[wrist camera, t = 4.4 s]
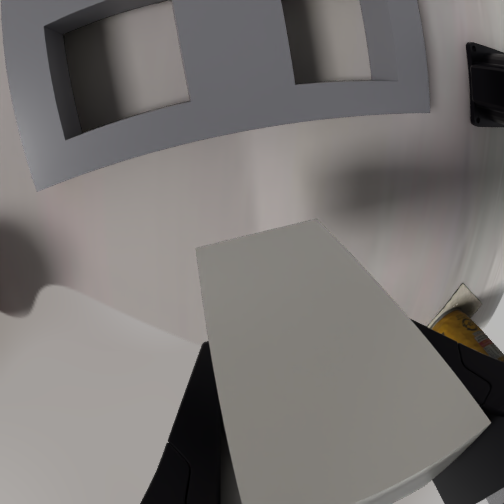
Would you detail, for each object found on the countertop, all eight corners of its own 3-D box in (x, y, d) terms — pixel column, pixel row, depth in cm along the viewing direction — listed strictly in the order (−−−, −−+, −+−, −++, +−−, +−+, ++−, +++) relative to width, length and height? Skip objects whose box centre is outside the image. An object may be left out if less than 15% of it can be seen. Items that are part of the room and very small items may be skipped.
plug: (316, 218, 10) (491, 422, 3) (320, 309, 12) (422, 487, 5) (195, 248, 10) (249, 533, 3) (222, 337, 12) (276, 544, 5)
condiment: (408, 346, 28) (470, 434, 17) (461, 282, 25) (540, 360, 15) (435, 356, 31) (488, 427, 20) (480, 302, 28) (543, 367, 18)
